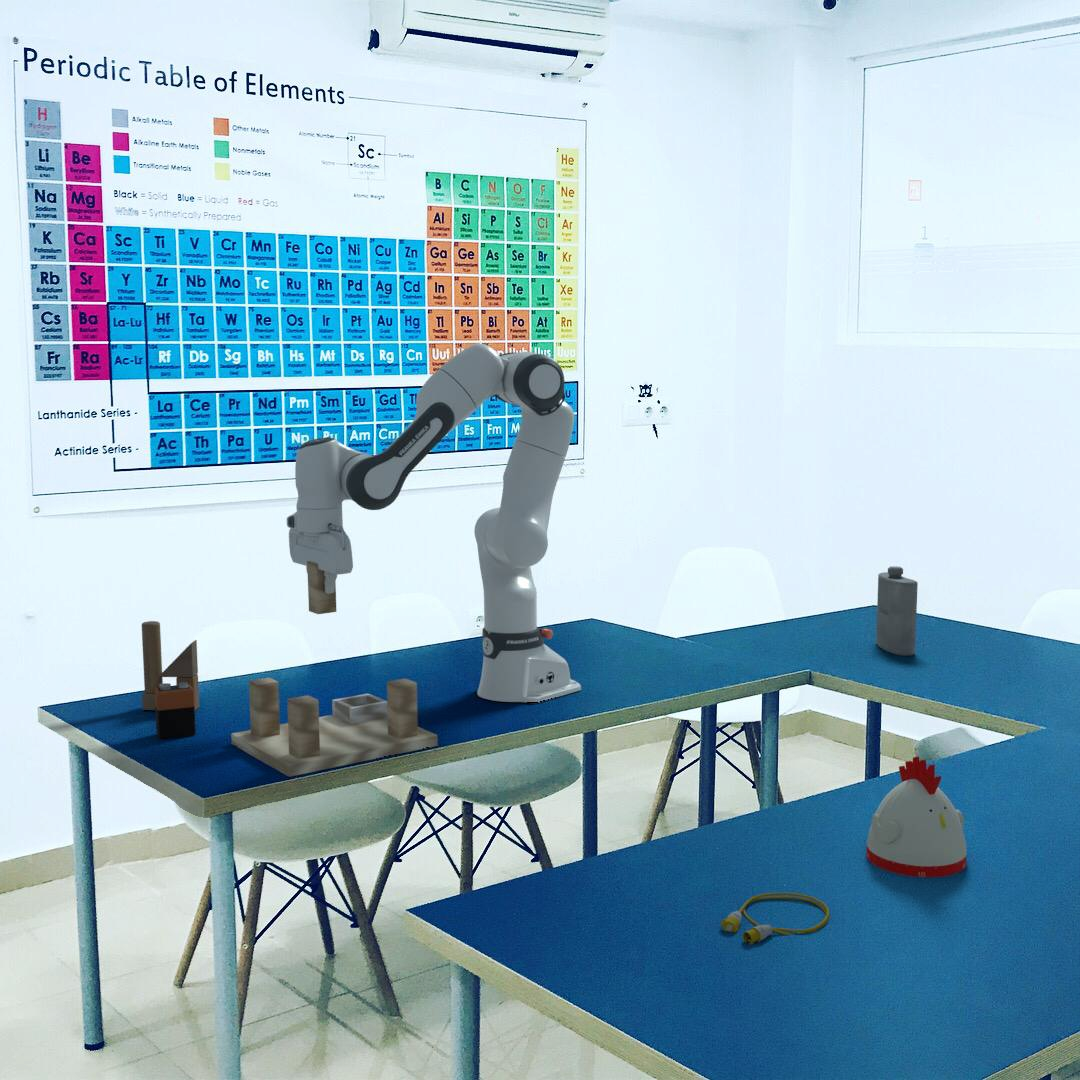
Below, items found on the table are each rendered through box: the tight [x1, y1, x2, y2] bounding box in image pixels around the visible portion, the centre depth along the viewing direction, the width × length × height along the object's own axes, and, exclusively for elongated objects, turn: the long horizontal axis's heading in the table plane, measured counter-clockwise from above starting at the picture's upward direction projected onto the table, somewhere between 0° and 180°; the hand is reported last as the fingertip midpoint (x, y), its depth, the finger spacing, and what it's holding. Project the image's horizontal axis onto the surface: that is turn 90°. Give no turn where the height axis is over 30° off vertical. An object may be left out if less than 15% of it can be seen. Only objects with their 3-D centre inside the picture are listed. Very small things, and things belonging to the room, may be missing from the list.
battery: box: [155, 682, 197, 740], centre depth 257 cm, size 4×7×10 cm, turn 114°
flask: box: [875, 565, 918, 657], centre depth 325 cm, size 15×6×20 cm, turn 9°
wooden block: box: [141, 620, 200, 711], centre depth 274 cm, size 4×11×18 cm, turn 87°
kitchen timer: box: [865, 756, 967, 878], centre depth 194 cm, size 14×14×15 cm
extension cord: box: [720, 892, 830, 945], centre depth 175 cm, size 12×16×2 cm
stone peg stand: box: [231, 677, 439, 778], centre depth 250 cm, size 30×24×12 cm
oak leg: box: [306, 561, 337, 615], centre depth 267 cm, size 4×4×10 cm
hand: (322, 590), depth 267 cm, fingers closed on oak leg, 4 cm apart
